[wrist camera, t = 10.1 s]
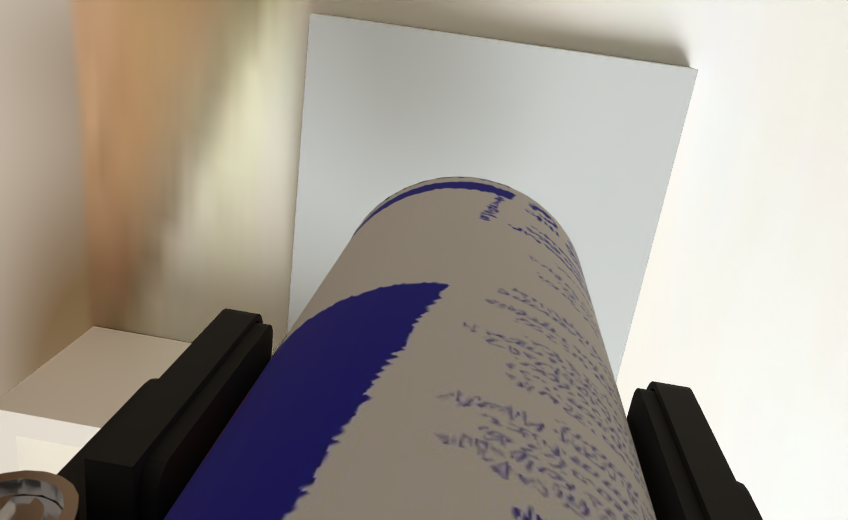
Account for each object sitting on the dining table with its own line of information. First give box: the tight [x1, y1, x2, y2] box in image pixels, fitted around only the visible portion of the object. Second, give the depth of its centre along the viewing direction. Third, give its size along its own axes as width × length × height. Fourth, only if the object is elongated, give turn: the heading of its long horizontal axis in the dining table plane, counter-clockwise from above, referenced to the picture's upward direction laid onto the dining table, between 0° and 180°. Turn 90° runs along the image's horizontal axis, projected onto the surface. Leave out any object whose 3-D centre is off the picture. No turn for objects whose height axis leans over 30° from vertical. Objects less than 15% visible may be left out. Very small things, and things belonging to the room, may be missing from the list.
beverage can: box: [164, 176, 656, 520], centre depth 9 cm, size 6×6×15 cm
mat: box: [287, 13, 698, 382], centre depth 22 cm, size 11×11×1 cm
